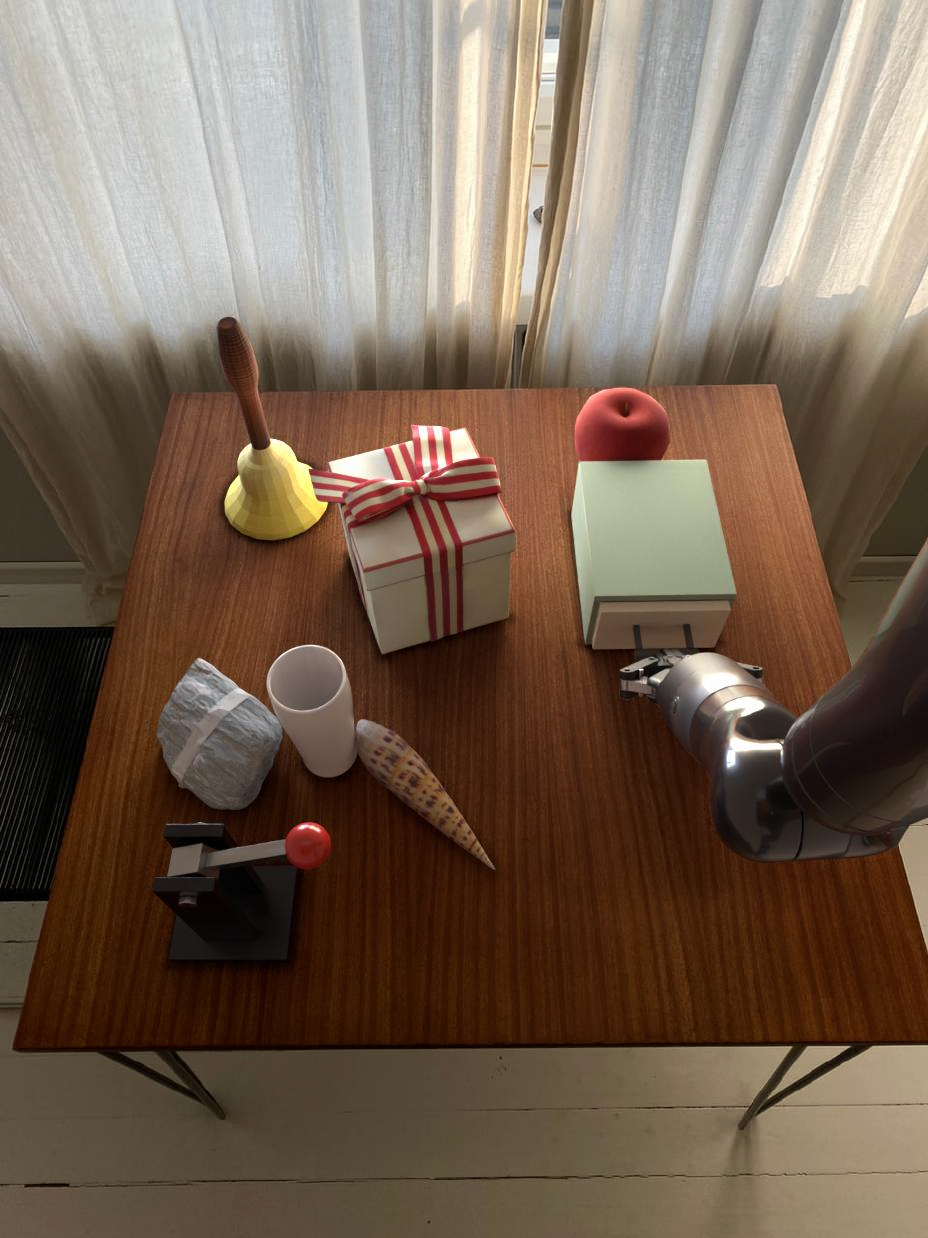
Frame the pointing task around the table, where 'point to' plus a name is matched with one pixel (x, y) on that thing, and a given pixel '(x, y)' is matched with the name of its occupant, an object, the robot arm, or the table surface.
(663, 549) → the cabinet
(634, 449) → the apple
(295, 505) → the handbell
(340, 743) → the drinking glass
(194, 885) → the bracket
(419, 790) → the seashell
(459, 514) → the gift box
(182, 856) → the lever
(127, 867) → the table surface
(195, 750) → the decorative stone
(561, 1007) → the table surface
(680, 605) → the drawer
